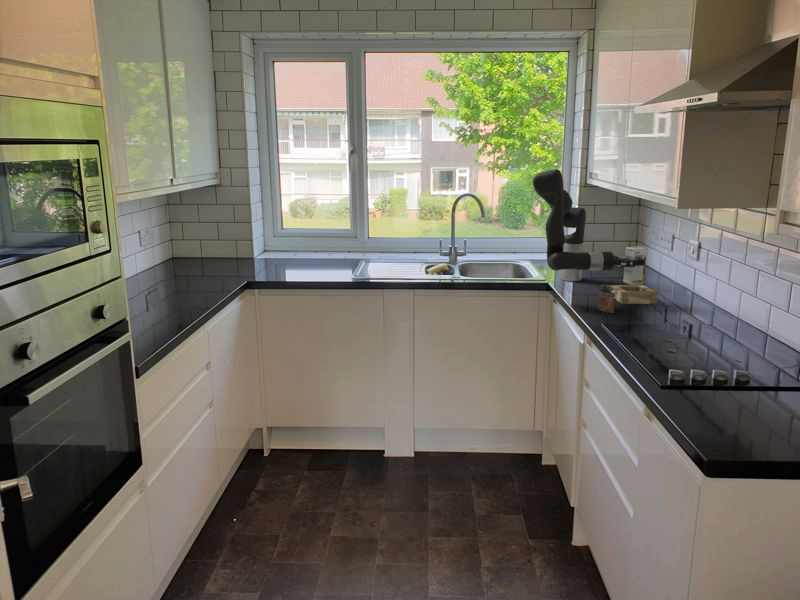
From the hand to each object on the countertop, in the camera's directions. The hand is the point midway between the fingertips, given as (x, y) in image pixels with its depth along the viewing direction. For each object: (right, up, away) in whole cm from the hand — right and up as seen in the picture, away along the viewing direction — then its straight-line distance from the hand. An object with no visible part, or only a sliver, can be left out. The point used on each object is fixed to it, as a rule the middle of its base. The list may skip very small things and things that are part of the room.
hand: (640, 260), depth 249 cm
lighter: (-18, -20, -13) cm, 30 cm away
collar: (-2, -15, +4) cm, 16 cm away
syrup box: (-2, -9, +2) cm, 9 cm away
